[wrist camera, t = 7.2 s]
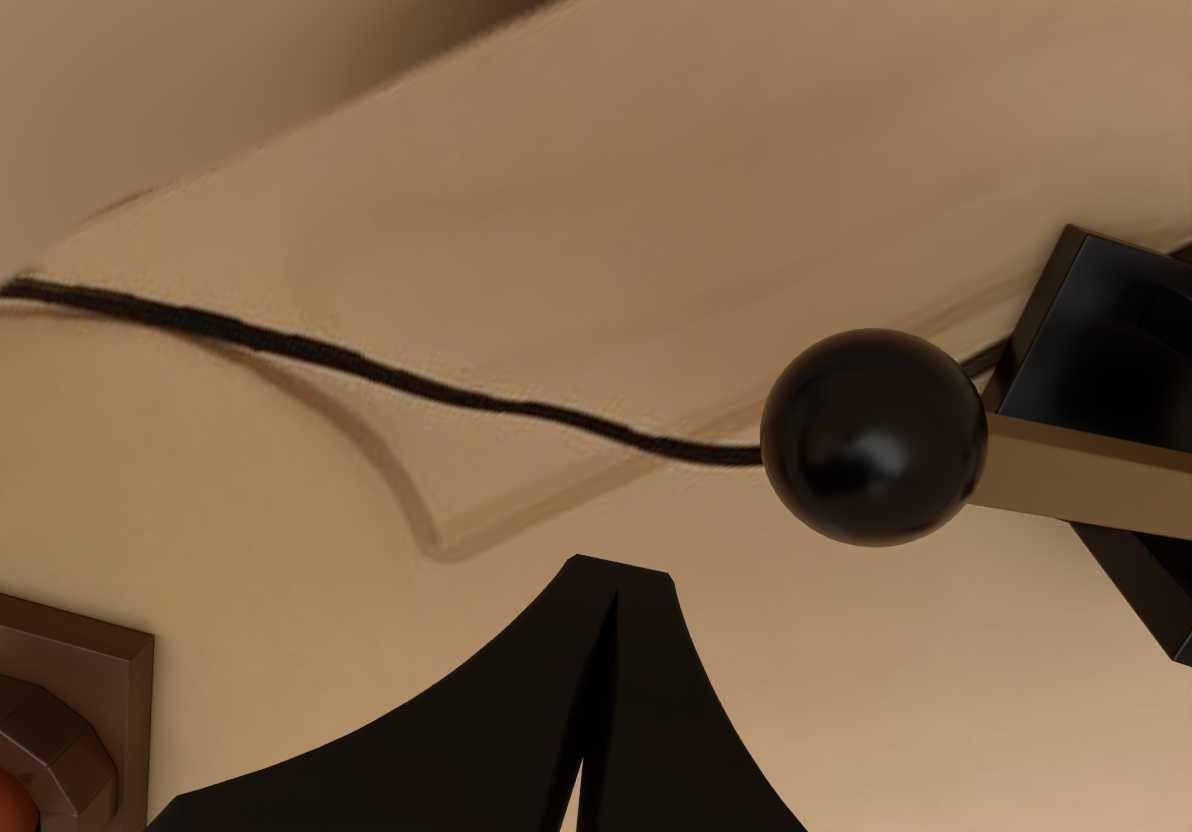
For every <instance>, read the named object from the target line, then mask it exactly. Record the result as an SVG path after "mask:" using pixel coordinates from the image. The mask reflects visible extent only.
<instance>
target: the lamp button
mask: <svg viewBox="0 0 1192 832" xmlns="http://www.w3.org/2000/svg"><path fill="white" fill-rule="evenodd" d="M38 819H39V810H38V808H37V806H36V805H35V803H34V801H33V800H32V798H31V797H30V795H29V794H28V792H27V790H26V789H25V787H24V786H23V784H22V782H21V781H20V780H18V779H17V778H15V777H14V776H13V775H11V774H10V773H9V772H7V771H6V770H4V769H3V768H2V767H0V832H34V831H35V829H36V826H37V823H38Z"/></svg>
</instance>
